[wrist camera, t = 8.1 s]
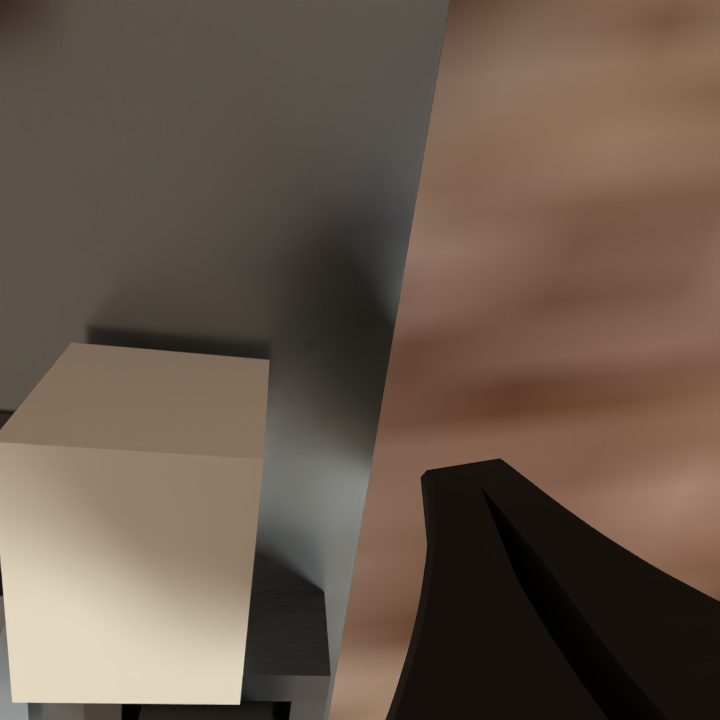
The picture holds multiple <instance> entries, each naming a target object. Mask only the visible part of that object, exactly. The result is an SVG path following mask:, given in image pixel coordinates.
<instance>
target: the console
mask: <svg viewBox="0 0 720 720" xmlns="http://www.w3.org/2000/svg"><path fill="white" fill-rule="evenodd" d="M449 3H450V0H0V430H1V429H2V427H3V426H4V425H5V424H6V422H7V421H8V420H9V419H10V417H11V416H12V415H13V414H14V413H15V411H16V410H17V409H18V408H19V406H20V405H21V404H22V403H23V402H24V400H25V399H26V398H27V397H28V395H29V394H30V393H31V392H32V390H33V389H34V388H35V387H36V386H37V384H38V383H39V382H40V381H41V379H42V378H43V377H44V376H45V374H46V373H47V372H48V371H49V370H50V368H51V367H52V366H53V365H54V363H55V362H56V361H57V360H58V359H59V357H60V356H61V355H62V354H63V352H64V351H65V350H66V349H67V347H68V346H69V345H70V344H71V343H83V344H94V345H106V346H117V347H128V348H140V349H151V350H163V351H174V352H185V353H197V354H208V355H220V356H231V357H242V358H254V359H265V360H269V377H268V395H267V413H266V430H265V448H264V463H263V473H262V483H261V494H260V504H259V514H258V524H257V535H256V545H255V555H254V565H253V575H252V586H251V596H250V606H249V616H248V627H247V637H246V647H245V657H244V667H243V678H242V688H241V698H240V701H273V717H272V720H328V716H329V711H330V705H331V699H332V693H333V687H334V681H335V675H336V669H337V663H338V657H339V652H340V646H341V640H342V634H343V628H344V622H345V616H346V610H347V604H348V599H349V593H350V587H351V581H352V575H353V569H354V563H355V557H356V551H357V545H358V540H359V534H360V528H361V522H362V516H363V510H364V504H365V498H366V492H367V487H368V481H369V475H370V469H371V463H372V457H373V451H374V445H375V439H376V433H377V428H378V422H379V416H380V410H381V404H382V398H383V392H384V386H385V380H386V374H387V369H388V363H389V357H390V351H391V345H392V339H393V333H394V327H395V321H396V316H397V310H398V304H399V298H400V292H401V286H402V280H403V274H404V268H405V262H406V257H407V251H408V245H409V239H410V233H411V227H412V221H413V215H414V209H415V204H416V198H417V192H418V186H419V180H420V174H421V168H422V162H423V156H424V150H425V145H426V139H427V133H428V127H429V121H430V115H431V109H432V103H433V97H434V92H435V86H436V80H437V74H438V68H439V62H440V56H441V50H442V44H443V38H444V33H445V27H446V21H447V15H448V9H449ZM0 596H3V584H2V572H1V559H0ZM27 704H28V719H29V720H139V716H140V711H141V707H142V704H116V703H27Z"/></svg>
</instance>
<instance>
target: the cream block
mask: <svg viewBox="0 0 720 720" xmlns="http://www.w3.org/2000/svg"><path fill="white" fill-rule="evenodd" d="M268 377H269V360H265V359H254V358H242V357H231V356H220V355H208V354H197V353H185V352H174V351H163V350H151V349H140V348H128V347H117V346H106V345H94V344H83V343H71V344H70V345H69V346H68V347H67V349H66V350H65V351H64V352H63V354H62V355H61V356H60V357H59V359H58V360H57V361H56V362H55V363H54V365H53V366H52V367H51V368H50V370H49V371H48V372H47V373H46V374H45V376H44V377H43V378H42V379H41V381H40V382H39V383H38V384H37V386H36V387H35V388H34V389H33V390H32V392H31V393H30V394H29V395H28V397H27V398H26V399H25V400H24V402H23V403H22V404H21V405H20V406H19V408H18V409H17V410H16V411H15V413H14V414H13V415H12V416H11V417H10V419H9V420H8V421H7V422H6V424H5V425H4V426H3V427H2V429H1V430H0V559H1V572H2V584H3V596H4V608H5V620H6V632H7V644H8V657H9V669H10V681H11V693H12V702H13V703H116V704H219V705H240V698H241V688H242V678H243V667H244V657H245V647H246V637H247V627H248V616H249V606H250V596H251V586H252V575H253V565H254V555H255V545H256V535H257V524H258V514H259V504H260V494H261V483H262V473H263V463H264V448H265V430H266V413H267V395H268Z"/></svg>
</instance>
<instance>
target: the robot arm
mask: <svg viewBox="0 0 720 720" xmlns="http://www.w3.org/2000/svg"><path fill="white" fill-rule="evenodd" d="M421 486H422V496H423V506H424V516H425V527H426V537H427V554H426V563H425V570H424V576H423V583H422V590H421V596H420V601H419V606H418V611H417V616H416V621H415V625H414V629H413V633H412V637H411V641H410V645H409V649H408V652H407V656H406V659H405V662H404V666H403V669H402V672H401V676H400V679H399V682H398V686H397V689H396V692H395V695H394V698H393V701H392V703H391V706H390V709H389V712H388V715H387V717H386V720H720V601H718V600H716V599H714V598H712V597H710V596H708V595H706V594H704V593H702V592H700V591H698V590H697V589H695V588H693V587H691V586H689V585H687V584H685V583H683V582H681V581H680V580H678V579H676V578H674V577H672V576H670V575H668V574H666V573H665V572H663V571H661V570H659V569H658V568H656V567H654V566H653V565H651V564H649V563H647V562H646V561H644V560H642V559H641V558H639V557H638V556H636V555H634V554H633V553H631V552H630V551H628V550H626V549H625V548H623V547H622V546H620V545H618V544H617V543H615V542H614V541H612V540H610V539H609V538H607V537H606V536H605V535H603V534H602V533H600V532H599V531H597V530H596V529H594V528H593V527H591V526H590V525H588V524H587V523H585V522H584V521H583V520H581V519H580V518H578V517H577V516H576V515H574V514H573V513H571V512H570V511H569V510H567V509H566V508H564V507H563V506H562V505H560V504H559V503H558V502H556V501H555V500H554V499H552V498H551V497H550V496H549V495H547V494H546V493H545V492H543V491H542V490H541V489H539V488H538V487H537V486H535V485H534V484H533V483H532V482H530V481H529V480H528V479H526V478H525V477H524V476H523V475H521V474H520V473H519V472H517V471H516V470H515V469H514V468H512V467H511V466H510V465H508V464H507V463H506V462H504V461H503V460H502V459H494V460H488V461H481V462H475V463H469V464H463V465H457V466H450V467H444V468H438V469H432V470H427V471H426V472H425V473H424V474H423V475H422V477H421Z"/></svg>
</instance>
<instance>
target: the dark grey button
mask: <svg viewBox="0 0 720 720" xmlns="http://www.w3.org/2000/svg"><path fill="white" fill-rule="evenodd" d="M272 717H273V701H240V705H219V704H142V707H141V711H140V716H139V720H272Z"/></svg>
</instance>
